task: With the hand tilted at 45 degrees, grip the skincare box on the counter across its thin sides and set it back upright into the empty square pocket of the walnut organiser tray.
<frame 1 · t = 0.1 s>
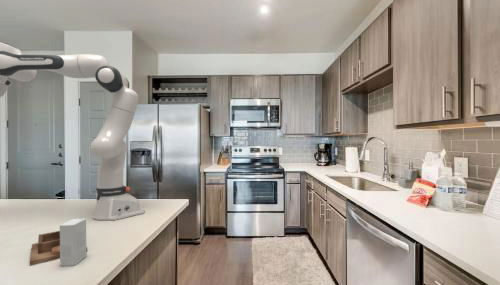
skincare box: (73, 261, 73), on the countertop
organiser tray: (59, 249, 81), on the countertop
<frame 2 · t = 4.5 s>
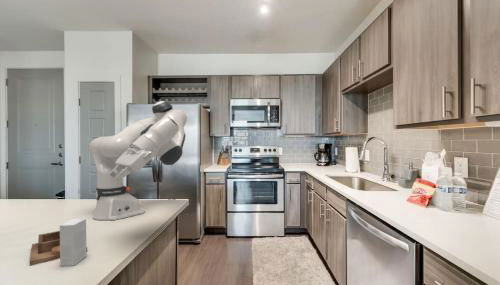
hand: (114, 177, 84), 24 cm above the countertop, tool tilted 45°, fingers open, 8 cm apart
nothing on the countertop moved.
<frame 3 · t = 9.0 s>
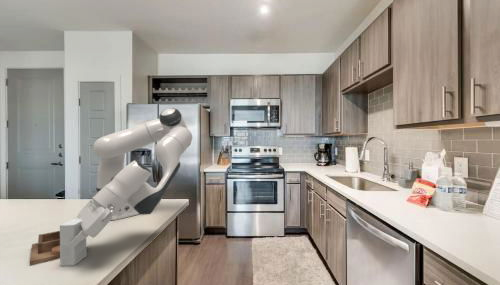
hand: (71, 239, 73), 7 cm above the countertop, tool tilted 45°, fingers closed on skincare box, 7 cm apart
skincare box: (73, 261, 73), on the countertop, touching gripper
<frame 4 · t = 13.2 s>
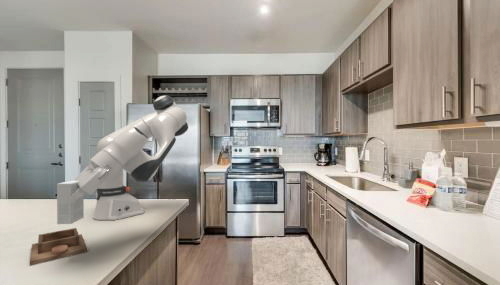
hand: (68, 199, 74), 19 cm above the countertop, tool tilted 45°, fingers closed on skincare box, 7 cm apart
skincare box: (70, 221, 74), point 12 cm above the countertop, touching gripper
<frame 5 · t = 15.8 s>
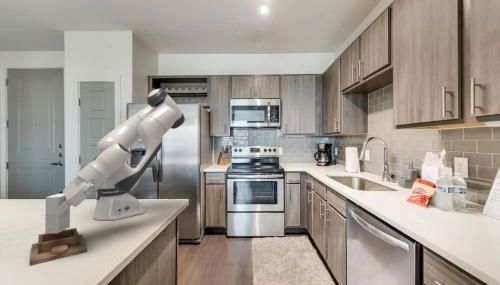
hand: (55, 210, 82), 13 cm above the countertop, tool tilted 45°, fingers closed on skincare box, 7 cm apart
skincare box: (57, 231, 82), point 6 cm above the countertop, touching gripper
when the fingers open (9 cm above the countertop, at t = 17.7 s): skincare box stays where it is, resting on organiser tray.
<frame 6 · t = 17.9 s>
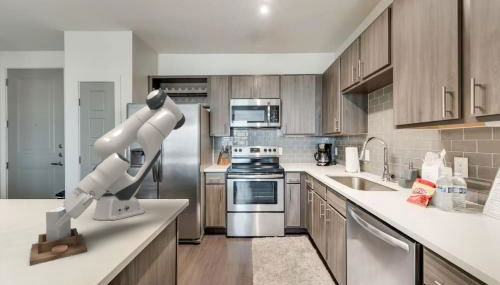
hand: (56, 221, 83), 9 cm above the countertop, tool tilted 45°, fingers open, 8 cm apart
skincare box: (58, 244, 83), point 1 cm above the countertop, touching organiser tray
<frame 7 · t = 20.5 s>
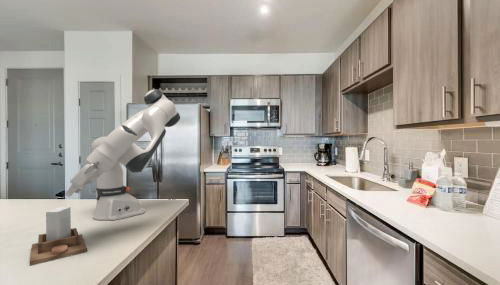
hand: (71, 193, 86), 18 cm above the countertop, tool tilted 40°, fingers open, 8 cm apart
nothing on the countertop moved.
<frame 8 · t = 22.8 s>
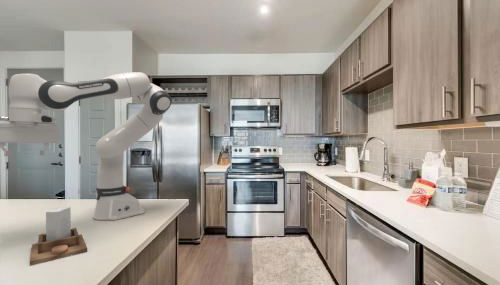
hand: (25, 155, 89), 31 cm above the countertop, tool pointing down, fingers open, 8 cm apart
nothing on the countertop moved.
at the end: skincare box 0.0 cm from the target spot on the organiser tray, point 1.0 cm above the organiser tray's base; skincare box tilted 0°; the gripper is holding nothing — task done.
